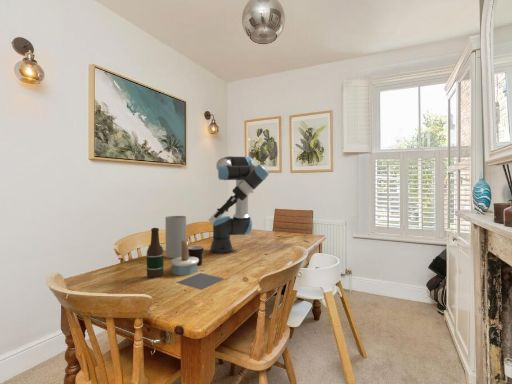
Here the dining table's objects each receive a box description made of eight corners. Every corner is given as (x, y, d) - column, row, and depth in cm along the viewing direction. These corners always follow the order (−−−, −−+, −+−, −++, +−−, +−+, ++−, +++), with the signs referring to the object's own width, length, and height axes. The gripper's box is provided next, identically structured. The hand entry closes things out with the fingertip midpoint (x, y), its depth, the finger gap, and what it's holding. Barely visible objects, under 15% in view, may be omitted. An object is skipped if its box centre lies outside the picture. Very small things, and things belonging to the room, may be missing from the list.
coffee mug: (200, 267, 149) (200, 249, 149) (185, 266, 151) (185, 249, 151) (208, 262, 161) (207, 245, 160) (194, 261, 162) (194, 244, 162)
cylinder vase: (174, 252, 182) (174, 215, 181) (190, 254, 177) (190, 216, 176) (161, 257, 170) (161, 217, 169) (177, 259, 165) (177, 218, 165)
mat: (200, 273, 140) (200, 272, 140) (225, 279, 131) (225, 278, 131) (176, 283, 126) (176, 282, 126) (201, 290, 118) (201, 289, 118)
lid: (185, 257, 152) (185, 237, 152) (204, 261, 145) (204, 240, 144) (165, 263, 140) (165, 242, 140) (184, 267, 133) (184, 245, 133)
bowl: (185, 266, 151) (185, 257, 151) (202, 270, 145) (202, 261, 145) (167, 272, 141) (167, 263, 140) (184, 277, 134) (184, 267, 134)
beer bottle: (146, 275, 137) (146, 227, 137) (162, 273, 140) (162, 226, 140) (147, 280, 130) (146, 229, 130) (164, 277, 133) (163, 228, 133)
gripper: (246, 196, 125) (213, 229, 126) (249, 194, 150) (222, 221, 151) (234, 185, 125) (202, 217, 126) (239, 185, 150) (212, 212, 151)
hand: (213, 220), depth 138 cm, fingers open, 13 cm apart
